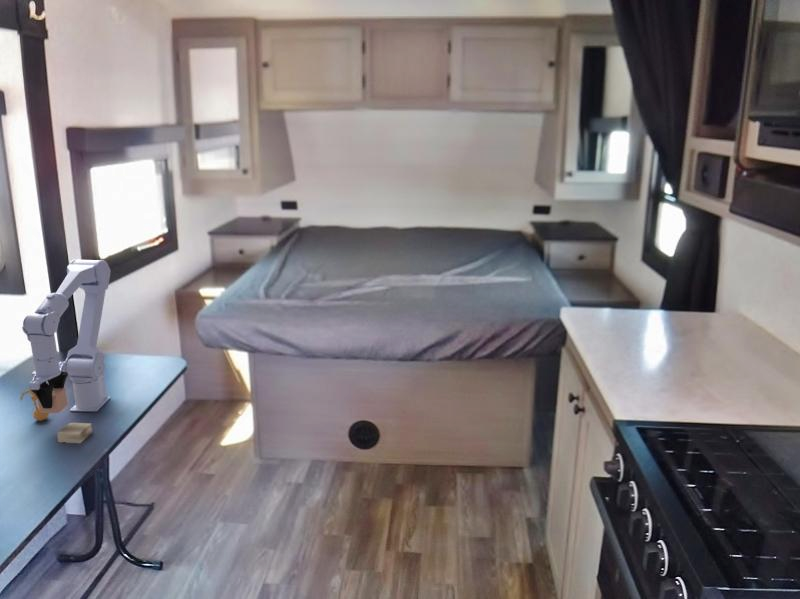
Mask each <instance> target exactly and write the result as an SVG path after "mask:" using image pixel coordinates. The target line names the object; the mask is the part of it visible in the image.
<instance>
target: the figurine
mask: <svg viewBox="0 0 800 599" xmlns="http://www.w3.org/2000/svg"><path fill="white" fill-rule="evenodd" d="M29 393H30V394H31V395H32V396H30V398H31V401H33V405H34V407H35V409H34V410H33V411H32V417H33V418H34V419H35V420H36V421H40V422H42V421H45V420H46V419H48V417H49V416H50V413H40V412H39V406H38V402H37V401H38V399H37V396H36V395H35V394H34V393H33V392H32V391H31V390H30V388H29V389H27V390H25V391H24V392H22V393H21V396H20V398H19V399H20V400H19V401H20V402H22V401H23V397H24V395H26V394H29Z"/></svg>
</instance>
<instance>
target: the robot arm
mask: <svg viewBox="0 0 800 599" xmlns="http://www.w3.org/2000/svg"><path fill="white" fill-rule="evenodd" d="M66 273H67V275H66V276H65V278H64V279H63V281H62V282H61V284H60V285H59V287H58V289H57V290H56V292H51V293H49V294H47V295H46V297H45V299H44V300H43V301H42V303H41V304H40V305H39V306H38V308H37V309H36V310H35V311H34V312H32V313H29V314H28V315H26V316H25V317H24V319H23V322H22V327H21V329H22V331H23V334H25V335H26V337H27V341H28V342H30V348H31V353H32V359H33V365H34V371H32V372H31V376H33V378H32V380H31V381H30V382H29V389H30V390H31V391H32V392H33V393H34V394H35V395H36V396H37V397H38V399H39V401H40V403H41V405H42V407H43V408H52V392H53V388H65V385H66V381H67V378H69V381H71V382H72V388H73V396H74V401H75V402H74V403H75V405H73V407H71V408H70V409H69V411H70V412H98V411H99V410H100V409H101V408H102V407H103V406H104V405H105V404H106V403H107V402H108V401H109V400H110V399H111V396H108V392H107V385H106V379H105V377H104V375H103V374H104V371H105V367H106V366H105V353H104V352H102V351H101V349H99V347H98V346H97V345H98V340H99V335H100V334H99V333H100V328H101V322H102V316H103V310H104V308H103V307H104V303H105V296H106V290H108V289H109V285H110V279H111V267H110V266H109V264H108V262H107V261H106V260H104V259H99V260H97V259H96V260H94V259H78V258H74V259H72V260H70V263H69V264H68V265H67V267H66ZM79 288H80V289H82V290H83V291H84V293H85V295H84V300H83V305H82V306H83V307H82V313H81V320H80V326H79V331H78V336H77V341H76V342H77V343H76V345H75V346H74V347H72V348H70V349H69V350H68V351H67V355H66V359H65V360H64V361H59V356H58V350H57V343H56V336H55V333H56V332H57V331H58V329H59V328H58V327H59V323H60V321H61V319H60V318H61V317H62V315H63V314H64V313H65V311H66V310H67V309H68V307H69V305H70V303H69V302H70V301H69V299H70V298H71V297H72V295H73V294H74V293H75V292H76V291H77V290H78V289H79ZM38 399H37V400H38Z"/></svg>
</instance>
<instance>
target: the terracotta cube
mask: <svg viewBox="0 0 800 599" xmlns="http://www.w3.org/2000/svg"><path fill="white" fill-rule="evenodd" d="M66 391H67V390H66V387H64V388H53V392H52V408H43V407H42V405H41V403H40V401H39V399H38V397H37V406H38V407H39V412H40V413H49V414H59V413H60V412H62V410H64V409H65V408H66V407H67V406H68V400H67V399H68V398H67V392H66Z"/></svg>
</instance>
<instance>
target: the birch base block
mask: <svg viewBox="0 0 800 599" xmlns="http://www.w3.org/2000/svg"><path fill="white" fill-rule="evenodd" d="M92 433H93V428H92V423H87V422H86V423H85V422H69V423H68V424H66V425H65V426H64V427H63V428H61V429H60V430H59V431H57V433H56V435H57V442H58V443H62V442H66V443H67V444H82V443H83V441H85V439H87V438H88V437H89V436H90V435H92Z"/></svg>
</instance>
